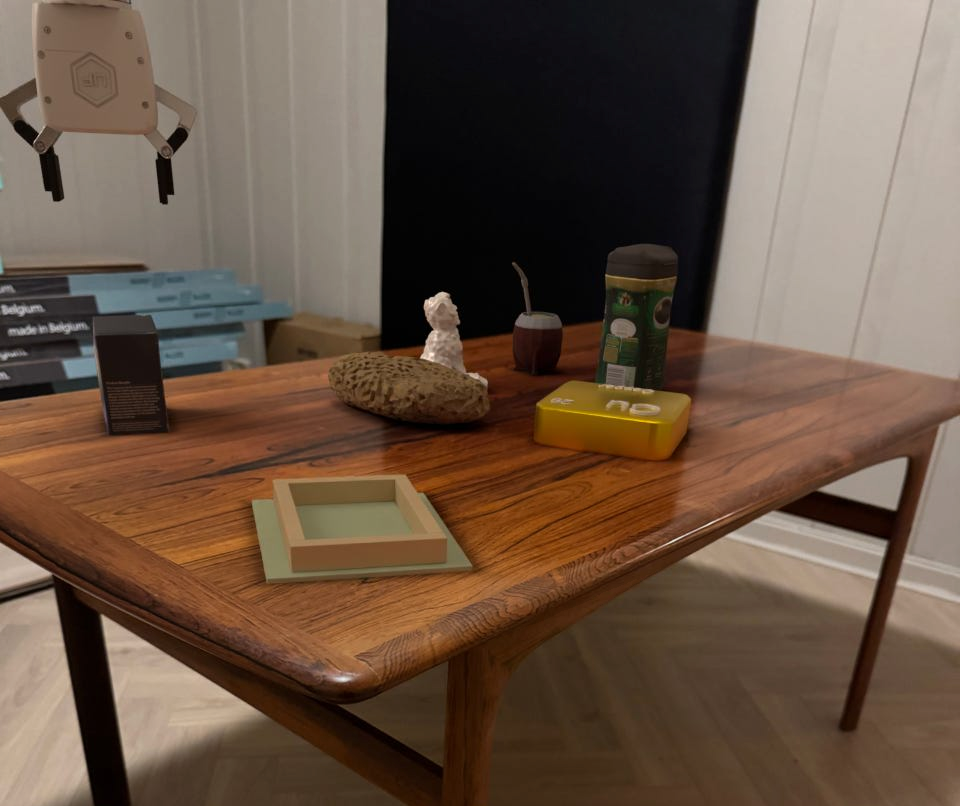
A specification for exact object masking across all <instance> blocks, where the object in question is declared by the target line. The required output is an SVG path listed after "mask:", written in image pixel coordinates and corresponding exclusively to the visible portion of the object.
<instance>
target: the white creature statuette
mask: <svg viewBox="0 0 960 806" xmlns="http://www.w3.org/2000/svg"><path fill="white" fill-rule="evenodd" d="M450 297H451V294H450V293H448V292H444V291H441V292H438V293H437V294H435V295H434V296H431V297H429V298H428V299H425V300H424V304H423V310H424V314H425V317H426V320H427V321H426V322H428V323H429V325H430V327H431V328H432V329H433V330H431V331H430V332H429V334H428V336H427V338H426V340H425V346H424V348H423V353H422V354H421V355H420V357H419V358H422V359H426V360H429V361H432V362H434V363H440V364H442V365H444V366H446V367H449V368H451V369H454V370H457V371H460V372H462V373H464V374H469V375H470V376H471V377H473V378H475V379H477V380H480V381H481V382H482V383H483V384H484V385H485V387H486V391H487V392H488V388H489V387H488V385H489V384H488V383H489V382H488V380H487V378H485V377H483V376H481V375H480V374H479V373H478V372H475V373H474V372H468V373H467V369H466V366H465V365H464V359H463V357H464V355H463V348H464V347H463V342H462V341H461V339H460V338H461V337H460V334H459V329H458V328H457V326H458V325H460V324H461V320H460V319H459V315H458V314H459V313H458V311H457V310H458V307H457V305H455V304H453V302H452V298H450Z"/></svg>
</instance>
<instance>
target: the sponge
mask: <svg viewBox="0 0 960 806" xmlns="http://www.w3.org/2000/svg"><path fill="white" fill-rule="evenodd" d="M327 378H328V382H329V386H330V390H332V391H333V396H335V397H336V398H337V399H338V400H339V401H341V402H342V403H345V404H347V405H349V406H352V407H355V408H358V409H360V410H364V411H367V412H370V413H372V414H374V415H379V416H383V417H386V418H389V419H393V420H396V421H397V420H398V421H403V422H407V423H408V422H409V423H414V424H415V423H418V424H429V425H440V426H441V425H445V426H446V425H453V424H460V423H470V422H474V421H477V420H479V419H481V418H483V417H485V416H486V415H487V414H488V413H489V412H490V411H491V408H490V407H491V406H490V400H489V395H488V390H487V391H486V387H485V385H484V384H483V383H482V382H481V381H480V380H477V379H475V378H473V377H471V376H470V375H469V374H464V373H462V372H460V371H457V370H454V369H451V368H449V367H446V366H444V365H442V364H440V363H434V362H432V361H429V360H426V359H422V358H420V357H412V356H406V355H394V356H390V355H387V354H385V353H383V352H381V351H376V352H375V353H371V351H363V352H359V351H357V352H353V353H349V354H347V353H346V354H344V355H342V356H341V357H339V358H338V359H336V361H334V362H333V363H332V364H331V366H330V367H329V370H328V373H327Z"/></svg>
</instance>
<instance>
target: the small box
mask: <svg viewBox="0 0 960 806" xmlns="http://www.w3.org/2000/svg"><path fill="white" fill-rule="evenodd" d="M92 334H93V335H92V336H93V337H92V338H93V352H94V355H93V356H94V362H95V369H96V375H97V376H96V377H97V382H98V389H99V395H100V400H101V407H102V413H103V417H104V421H105V426H106V429H107V433H108V436H124V435H125V436H127V435H147V434H169V433H170V432H171V429H170V423H169V417H168V410H167V402H166V393H165V385H164V377H163V371H162V370H163V368H162V363H161V361H162V360H161V353H160V340H159V338H160V337H159V331H158V329H157V327H156V324H155V321H154V319H153V316H152V315H151V314H126V315H103V316H102V315H101V316H92Z"/></svg>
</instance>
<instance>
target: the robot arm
mask: <svg viewBox="0 0 960 806" xmlns="http://www.w3.org/2000/svg"><path fill="white" fill-rule="evenodd" d="M40 1H41V2H32V4H31V5H32V6H31V41H32V54H33V66H34V75H35V76H34V78H32V79H30V80H28V81H27V82H25V83H23V84H21V85H19V86H17V87H16V88H14V89H12V90H10V91H8V92H6V93H4V94H2V95H1V96H0V109H1V111H2V113H3V114H4V116H5V117H6V119H7V120H8V122H9V123H10V124H11V126H12V128H13V130H14V132H15V133H16V134H17V135H19V136H20V138H21V139H23V140H24V141H25V142H26V143H27V144H28V145H29V146H30V147H31V148H33V149H34V151H35V152H36V153H38V158H39V164H40V170H41V177H42V184H43V189H44V192H51V197H52V202H54V203H55V202H58V203H59V202H61V201H64V199H65V191H64V185H63V179H62V172H61V171H62V170H61V166H60V158H59V155H58V154H57V153H55V152H56V151H55V147H54V146H55V144H56V143H57V141H58V140H59V139H60V137H61V136H62V135H63V133H64V132H65V133H79V134H80V133H81V134H101V135H102V134H103V135H104V134H105V135H125V136H127V135H128V136H130V135H132V136H139V135H140V136H144V138H146V140H147V141H148V142H149V143H150V144H151V146H152V147H153V148H154V149H155V150H156V157H157V158H156V159H155V160H154V161H155V171H156V180H157V181H156V182H157V188H158V189H157V190H158V199H159V200H158V201H159V204H161V205H163V206H164V205H165V206H167V205H169V197H168V196H175V183H174V175H173V173H174V172H173V166H172V165H173V163H172V158H173V156H174V155H175V154H176V153H177V151H178V150H179V149H180V148H181V147H182V146H183V145H184V143H185V142H186V141H187V140H188V139H189V137H190V133H191V131H192V128H193V125H194V123H195V120H196V118H197V115H198V110H197V108H196V107H194V106H193V105H191V104H190V103H188V102H187V101H184V100H183V99H181V98H179V96H178V97H177V96H176V95H174V94H173V93H172V92H169V91H168V90H166V89H164V88H162V87H160V86H159V85H158V84H156V83H155V77H154V72H153V64H152V58H151V52H150V46H149V41H148V37H147V32H146V28H145V24H144V20H143V17H142V13H141V12H140V10H136V9H133V8H132V7H133V6H132V0H40ZM36 98H37V102H38V107H39V112H40V117H41V120H42V122H43V123H44V124H45V125H44V126H43V128H42V129H41V131H40V132H38V131H37V129H35V128H34V127H33V126H32V125H31V124H30V123H28V121H27V120H26V118H25V117H24V115H23V113H22V111H21V107H22V106H23V105H25V104H27V103H28V102H30V101H33V100H34V99H36ZM158 103H160V104H161V105H163V106H164V107H167V108H168V109H170V110H171V111H173V112H175V113H177V114H178V116H179V120H178V123H177V125H176V128H175V130H174V131H173V132H172V133H171V134H170V136H169V137H168V138H167V139H166V138H165V137H164V136H163V134H162V133H161V132H160V131H159V130H158V129H157V128H158V125H159V124H158V123H159V111H158V109H159V108H158Z"/></svg>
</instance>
